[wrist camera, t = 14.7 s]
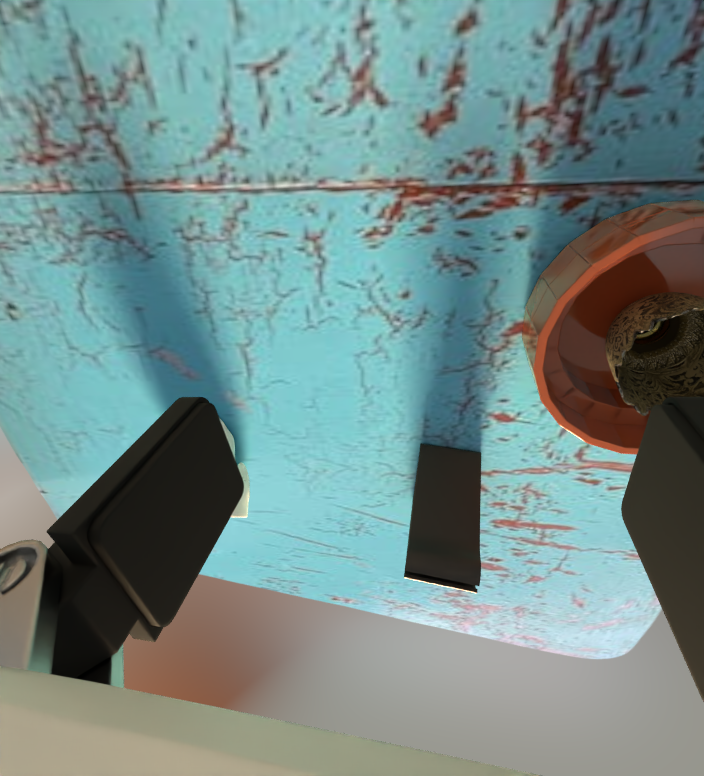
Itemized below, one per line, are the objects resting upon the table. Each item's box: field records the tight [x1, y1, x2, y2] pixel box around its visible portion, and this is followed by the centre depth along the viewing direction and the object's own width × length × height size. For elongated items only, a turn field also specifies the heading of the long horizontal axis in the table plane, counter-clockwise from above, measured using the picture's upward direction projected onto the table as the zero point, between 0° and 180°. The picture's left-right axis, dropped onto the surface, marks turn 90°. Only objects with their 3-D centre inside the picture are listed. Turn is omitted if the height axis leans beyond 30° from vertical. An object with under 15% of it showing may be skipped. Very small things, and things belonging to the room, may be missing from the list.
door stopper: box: [404, 444, 481, 593], centre depth 38 cm, size 9×6×12 cm, turn 179°
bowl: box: [522, 200, 704, 454], centre depth 28 cm, size 16×16×6 cm
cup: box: [605, 292, 704, 416], centre depth 26 cm, size 8×7×8 cm
